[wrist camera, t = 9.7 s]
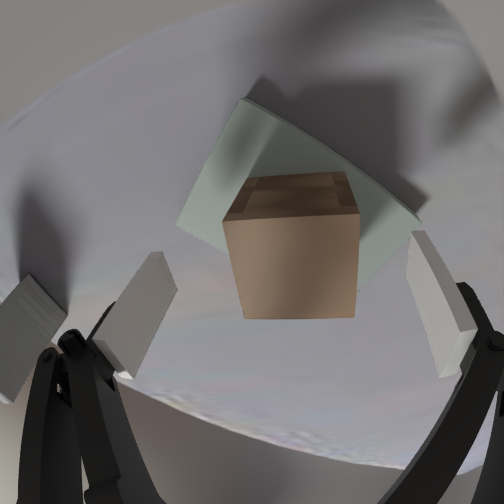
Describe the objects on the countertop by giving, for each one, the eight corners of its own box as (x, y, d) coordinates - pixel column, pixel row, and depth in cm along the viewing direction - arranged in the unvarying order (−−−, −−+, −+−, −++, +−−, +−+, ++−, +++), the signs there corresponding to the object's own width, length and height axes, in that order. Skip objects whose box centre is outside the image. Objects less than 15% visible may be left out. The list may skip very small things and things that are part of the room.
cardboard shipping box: (260, 258, 21) (244, 319, 16) (246, 178, 18) (221, 221, 13) (345, 255, 20) (354, 317, 15) (344, 171, 17) (359, 214, 12)
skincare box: (19, 286, 33) (-42, 360, 20) (31, 269, 30) (-42, 353, 17) (56, 327, 36) (3, 406, 23) (73, 316, 33) (11, 407, 20)
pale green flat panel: (182, 215, 22) (151, 255, 18) (245, 97, 17) (221, 103, 12) (333, 301, 24) (335, 352, 20) (415, 213, 19) (442, 256, 14)
